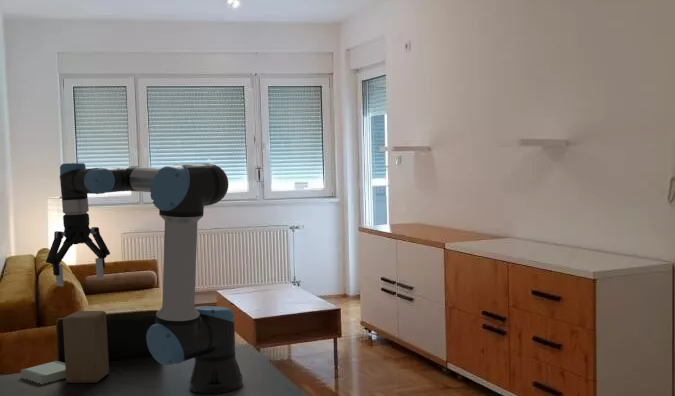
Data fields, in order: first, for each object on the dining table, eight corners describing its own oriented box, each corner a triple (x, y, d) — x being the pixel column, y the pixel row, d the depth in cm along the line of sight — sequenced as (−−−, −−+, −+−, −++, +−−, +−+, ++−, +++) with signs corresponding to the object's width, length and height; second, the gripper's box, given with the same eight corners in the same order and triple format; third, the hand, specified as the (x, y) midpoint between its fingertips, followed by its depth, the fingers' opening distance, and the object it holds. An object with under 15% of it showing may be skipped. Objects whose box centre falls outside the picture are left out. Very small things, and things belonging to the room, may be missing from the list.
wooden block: (110, 373, 237) (107, 310, 235) (97, 383, 227) (93, 317, 225) (79, 373, 238) (75, 310, 236) (64, 383, 228) (61, 317, 226)
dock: (77, 374, 237) (77, 366, 237) (41, 384, 227) (41, 376, 227) (56, 368, 244) (56, 360, 244) (21, 378, 235) (20, 369, 235)
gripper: (104, 210, 245) (109, 275, 246) (30, 217, 226) (36, 288, 227) (118, 210, 240) (122, 277, 241) (43, 217, 221) (49, 290, 222)
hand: (80, 282), depth 234 cm, fingers open, 13 cm apart
